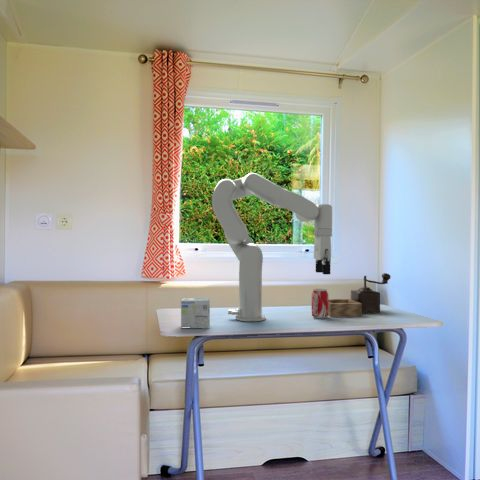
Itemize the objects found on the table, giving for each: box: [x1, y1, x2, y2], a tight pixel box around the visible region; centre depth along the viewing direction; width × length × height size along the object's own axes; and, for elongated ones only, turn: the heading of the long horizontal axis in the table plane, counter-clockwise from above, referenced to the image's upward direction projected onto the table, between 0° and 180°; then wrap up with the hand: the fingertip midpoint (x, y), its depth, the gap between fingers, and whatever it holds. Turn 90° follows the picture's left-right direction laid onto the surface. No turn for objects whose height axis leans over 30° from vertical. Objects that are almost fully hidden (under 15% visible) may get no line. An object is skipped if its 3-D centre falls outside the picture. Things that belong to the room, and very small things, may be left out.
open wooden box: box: [328, 298, 363, 318], centre depth 187 cm, size 14×14×6 cm
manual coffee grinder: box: [350, 272, 391, 314], centre depth 192 cm, size 16×11×18 cm
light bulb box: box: [180, 297, 211, 329], centre depth 158 cm, size 11×7×11 cm, turn 93°
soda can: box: [311, 288, 329, 320], centre depth 177 cm, size 7×7×12 cm
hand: (322, 273), depth 177 cm, fingers open, 9 cm apart
